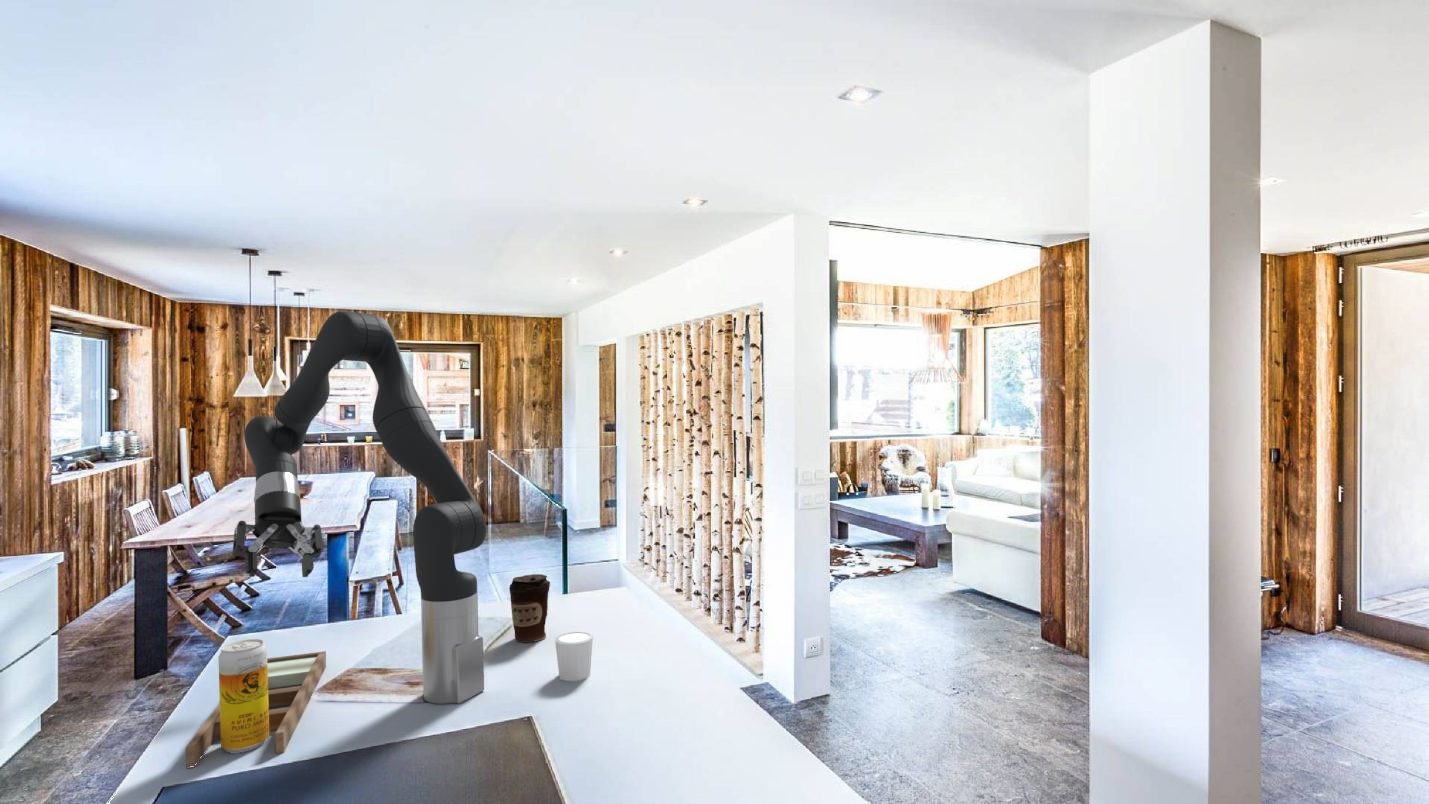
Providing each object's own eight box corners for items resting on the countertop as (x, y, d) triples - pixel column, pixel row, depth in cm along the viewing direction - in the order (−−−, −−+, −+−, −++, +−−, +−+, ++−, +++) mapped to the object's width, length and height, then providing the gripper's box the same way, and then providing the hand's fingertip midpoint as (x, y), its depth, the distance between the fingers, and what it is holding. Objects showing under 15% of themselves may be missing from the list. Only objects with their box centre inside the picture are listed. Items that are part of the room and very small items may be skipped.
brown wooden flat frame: (254, 676, 135) (253, 660, 135) (326, 666, 139) (325, 651, 139) (186, 768, 101) (185, 747, 101) (283, 752, 105) (283, 732, 105)
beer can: (233, 758, 104) (230, 655, 104) (213, 748, 107) (210, 647, 107) (277, 741, 109) (274, 642, 109) (256, 731, 112) (254, 635, 112)
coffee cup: (545, 645, 149) (543, 582, 149) (505, 645, 149) (503, 583, 149) (555, 631, 158) (553, 572, 157) (517, 632, 158) (515, 572, 158)
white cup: (589, 682, 129) (589, 643, 129) (551, 682, 129) (550, 643, 129) (596, 667, 136) (596, 630, 136) (560, 668, 136) (559, 631, 136)
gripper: (240, 486, 132) (241, 562, 123) (324, 492, 142) (330, 563, 132) (228, 510, 135) (228, 586, 126) (311, 514, 145) (316, 585, 136)
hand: (280, 574), depth 129 cm, fingers open, 8 cm apart
